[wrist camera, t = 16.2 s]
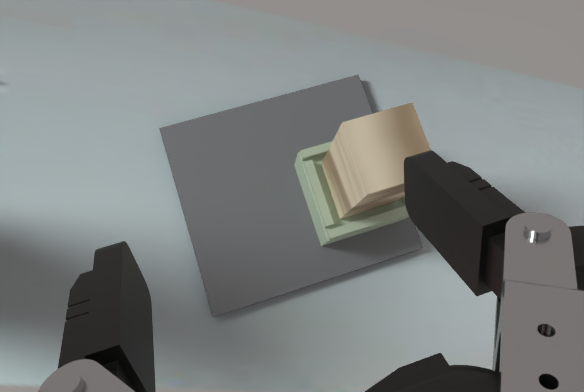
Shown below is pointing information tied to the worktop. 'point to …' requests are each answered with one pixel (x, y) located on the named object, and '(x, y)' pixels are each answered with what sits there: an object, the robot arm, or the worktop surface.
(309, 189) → the green plinth
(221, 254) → the grey flat plate
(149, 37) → the worktop surface
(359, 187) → the birch pillar
